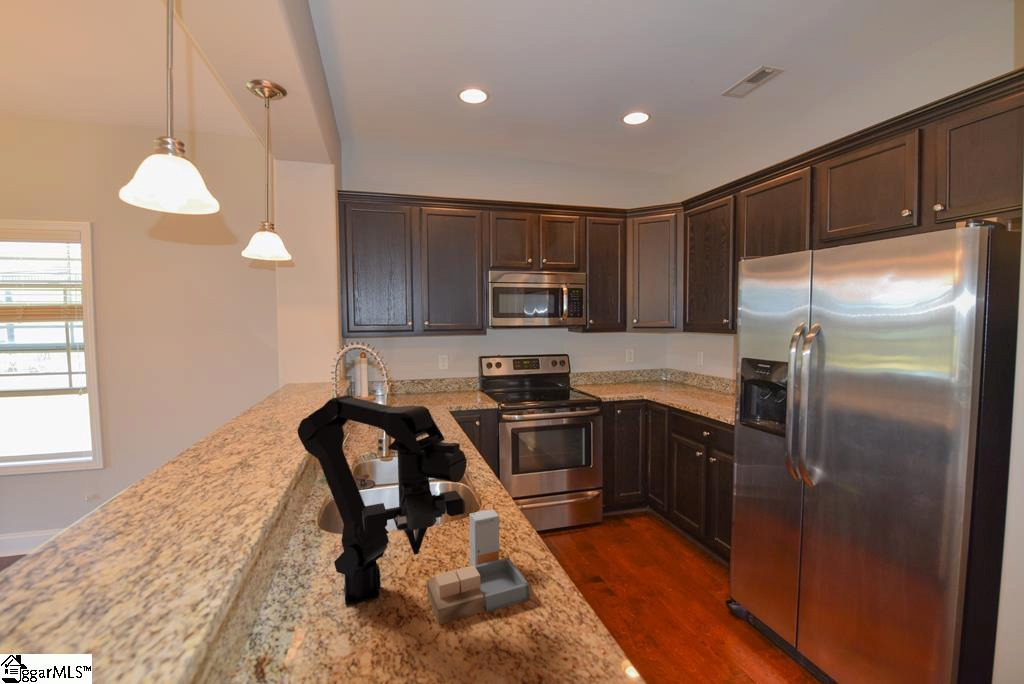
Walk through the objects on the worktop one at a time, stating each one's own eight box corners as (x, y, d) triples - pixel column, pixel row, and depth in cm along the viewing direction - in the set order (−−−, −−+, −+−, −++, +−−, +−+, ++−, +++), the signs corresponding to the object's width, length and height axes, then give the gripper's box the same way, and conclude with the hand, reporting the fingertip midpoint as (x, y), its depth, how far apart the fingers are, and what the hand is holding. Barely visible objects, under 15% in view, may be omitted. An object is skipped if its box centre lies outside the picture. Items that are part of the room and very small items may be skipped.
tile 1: (439, 598, 83) (439, 585, 83) (434, 586, 87) (434, 574, 87) (459, 593, 85) (459, 580, 85) (454, 581, 89) (453, 570, 88)
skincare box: (475, 573, 97) (474, 520, 96) (469, 563, 101) (468, 513, 100) (500, 566, 99) (499, 515, 98) (493, 557, 103) (493, 508, 102)
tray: (486, 612, 84) (486, 596, 83) (469, 581, 94) (469, 566, 93) (529, 599, 87) (529, 584, 87) (508, 571, 97) (508, 557, 97)
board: (438, 625, 80) (438, 609, 80) (427, 593, 89) (426, 579, 89) (484, 611, 84) (484, 596, 84) (468, 582, 93) (468, 569, 93)
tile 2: (461, 592, 85) (460, 580, 85) (455, 581, 89) (455, 569, 89) (480, 587, 87) (480, 575, 86) (474, 576, 90) (473, 565, 90)
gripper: (365, 498, 71) (368, 589, 72) (473, 480, 79) (475, 563, 79) (360, 476, 81) (363, 556, 82) (456, 462, 89) (458, 535, 90)
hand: (415, 553), depth 83 cm, fingers closed
